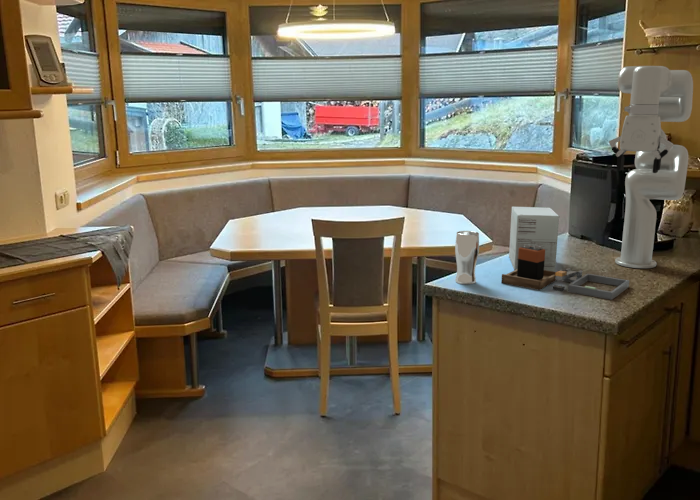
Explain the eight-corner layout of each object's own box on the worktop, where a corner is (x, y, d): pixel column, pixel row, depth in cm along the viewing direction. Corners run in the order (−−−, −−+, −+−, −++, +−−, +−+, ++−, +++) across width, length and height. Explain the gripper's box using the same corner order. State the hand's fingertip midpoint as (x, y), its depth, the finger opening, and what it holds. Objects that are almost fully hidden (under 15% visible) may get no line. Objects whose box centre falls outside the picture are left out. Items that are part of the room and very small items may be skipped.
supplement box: (556, 272, 213) (560, 216, 209) (513, 270, 215) (516, 215, 211) (547, 259, 230) (551, 206, 226) (507, 257, 232) (511, 205, 227)
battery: (535, 281, 198) (538, 248, 196) (516, 276, 203) (518, 244, 201) (543, 278, 201) (546, 246, 199) (524, 274, 206) (526, 242, 204)
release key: (570, 274, 203) (570, 267, 203) (576, 275, 202) (577, 268, 202) (554, 279, 194) (555, 272, 193) (561, 280, 192) (562, 273, 192)
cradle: (586, 279, 204) (587, 272, 204) (628, 287, 197) (629, 279, 197) (567, 291, 192) (568, 283, 192) (611, 299, 185) (612, 291, 184)
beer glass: (472, 286, 197) (474, 236, 194) (450, 282, 201) (452, 233, 197) (480, 280, 203) (483, 232, 200) (459, 277, 207) (461, 229, 203)
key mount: (567, 278, 206) (568, 267, 205) (582, 281, 203) (583, 270, 202) (549, 288, 195) (550, 277, 194) (565, 291, 192) (565, 280, 191)
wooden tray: (519, 273, 211) (520, 265, 210) (556, 280, 204) (557, 272, 203) (501, 282, 201) (501, 274, 200) (539, 290, 194) (540, 281, 193)
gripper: (608, 110, 193) (603, 170, 197) (673, 112, 183) (666, 174, 187) (616, 110, 199) (611, 168, 203) (679, 111, 188) (672, 172, 192)
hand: (637, 171), depth 195 cm, fingers open, 9 cm apart
